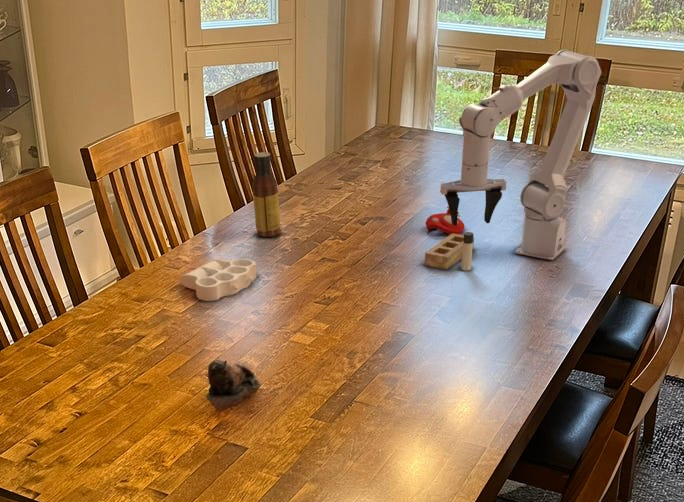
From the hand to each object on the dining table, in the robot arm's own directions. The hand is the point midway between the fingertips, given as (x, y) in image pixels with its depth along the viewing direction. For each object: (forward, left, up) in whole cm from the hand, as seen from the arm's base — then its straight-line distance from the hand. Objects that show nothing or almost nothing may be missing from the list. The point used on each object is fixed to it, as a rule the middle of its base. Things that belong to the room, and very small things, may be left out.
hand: (470, 223), depth 227 cm
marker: (0, +2, -10) cm, 10 cm away
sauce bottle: (+53, +6, -11) cm, 54 cm away
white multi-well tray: (+44, +38, -11) cm, 58 cm away
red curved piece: (+15, -20, -11) cm, 27 cm away
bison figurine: (+10, +80, -11) cm, 81 cm away
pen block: (+6, -3, -10) cm, 12 cm away
